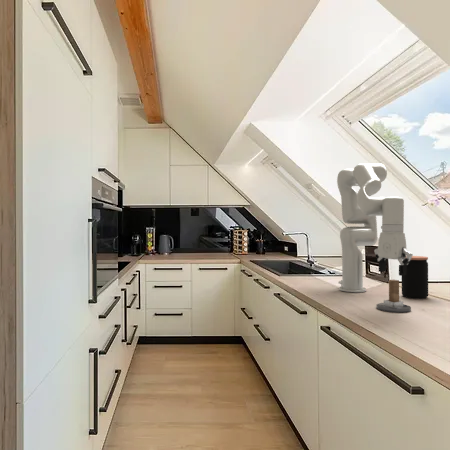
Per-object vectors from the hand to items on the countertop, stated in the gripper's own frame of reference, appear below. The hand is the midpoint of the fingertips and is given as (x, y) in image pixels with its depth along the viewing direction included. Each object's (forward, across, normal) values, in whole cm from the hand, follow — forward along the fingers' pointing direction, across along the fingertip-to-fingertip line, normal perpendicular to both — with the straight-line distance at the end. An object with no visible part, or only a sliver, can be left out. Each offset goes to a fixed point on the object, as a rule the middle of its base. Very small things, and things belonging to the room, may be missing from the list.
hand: (392, 273), depth 141 cm
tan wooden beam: (+12, +2, 0) cm, 12 cm away
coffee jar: (+15, -13, +28) cm, 34 cm away
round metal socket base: (+14, +1, 0) cm, 14 cm away
